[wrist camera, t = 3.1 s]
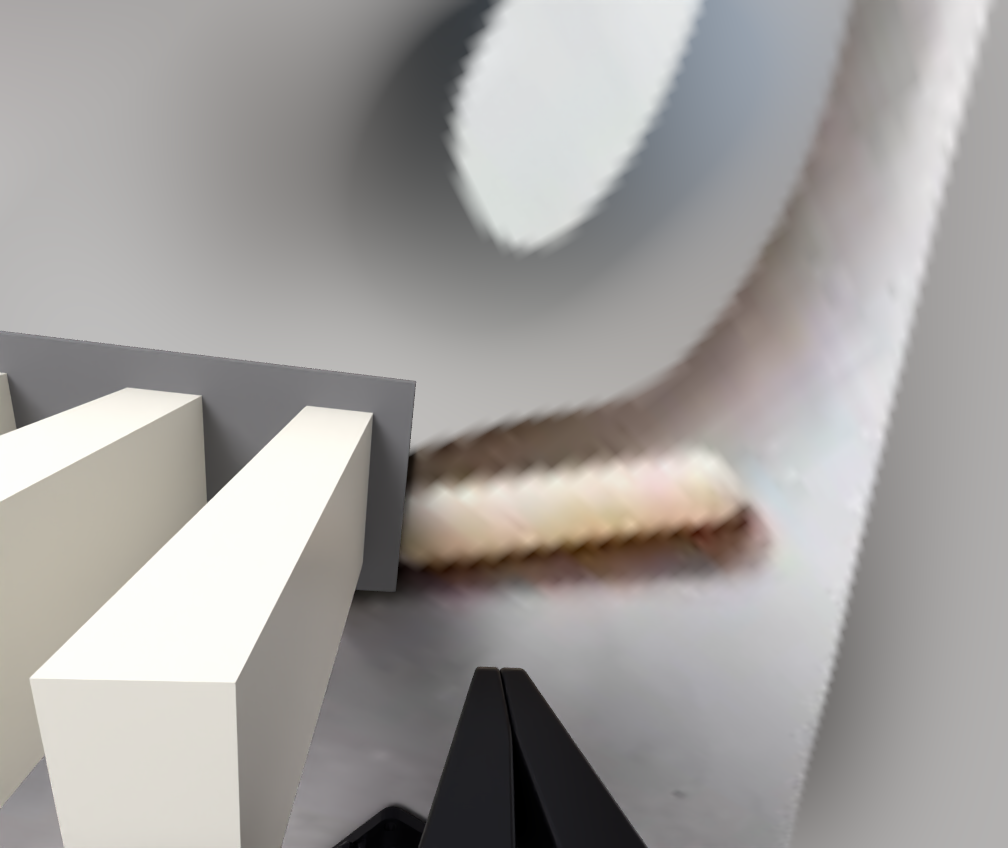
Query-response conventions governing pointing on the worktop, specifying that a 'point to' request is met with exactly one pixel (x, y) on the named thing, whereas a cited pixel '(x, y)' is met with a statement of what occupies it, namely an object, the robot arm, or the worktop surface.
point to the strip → (230, 414)
